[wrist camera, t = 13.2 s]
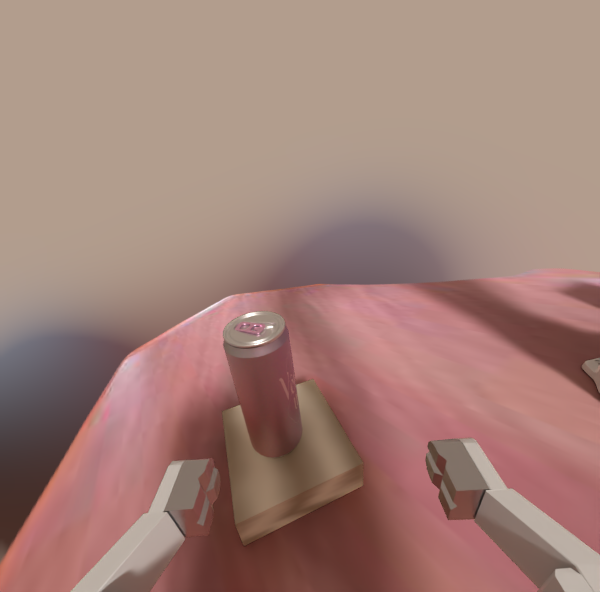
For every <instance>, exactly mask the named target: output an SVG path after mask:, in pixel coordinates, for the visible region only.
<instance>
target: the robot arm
mask: <svg viewBox="0 0 600 592" xmlns="http://www.w3.org/2000/svg"><path fill="white" fill-rule="evenodd" d="M582 369H583V370H584V371H585V372H586V373H587V374H588V375H589V376H590V377H591V378H592V379H593V380H594V381H595V383H596V386H597V389H598V391H599V393H600V358H596V359H591V360H587V361H585V362H584V364H583V365H582ZM428 449H429V451H430V452H428V453H427V454H426V466H427V470H428V473H429V476H430V479H431V481H432V483H433V484H434V485H435V486H436V487H437V488H438V489H440V491H439V496H438V498H439V500H440V502H441V505H442V507H443V509H444V512H445V514H446V516H447V519H448V520H466V519H475V520H474V521H475V522H476V523H477V524H478V525H479V526H480V527H481V529H482V530H483V531H484V532H485V533H486V534H487V535H488V536H489V537H490V538H491V539H492V540H493V541H494V542H495V543H496V544H497V545H498V546H499V547H500V548H501V549H502V551H503V552H504V553H505V554H506V555H507V556H508V557H509V558H510V559H511V560H512V561H513V562H514V563H515V564H516V565H517V566H518V567H519V568H520V569H521V570H522V571H523V572H524V574H525V575H526V576H527V577H528V578H529V579H530V580H531V581H532V582H533V583H534V584H535V585H536V586H537V587H538V588H539V590H538V591H537V592H600V555H599V554H598V553H596V552H595V551H594V550H592V549H591V548H590V547H588V546H587V545H586V544H584V543H583V542H582V541H581V540H579V539H578V538H577V537H575V536H574V535H573V534H571V533H570V532H569V531H567V530H566V529H565V528H563V527H562V526H561V525H560V524H558V523H557V522H556V521H554V520H553V519H552V518H550V517H549V516H548V515H546V514H545V513H544V512H542V511H541V510H540V509H539V508H537V507H536V506H535V505H533V504H532V503H531V502H529V501H528V500H527V499H525V498H524V497H523V496H521V495H520V494H519V493H518V492H516V491H515V490H514V489H512V488H509V489H507V487H506V485H505V484H504V482H503V481H502V479H501V478H500V476H499V475H498V473H497V472H496V470H495V469H494V467H493V466H492V464H491V463H490V461H489V459H488V458H487V456H486V455H485V453H484V452H483V450H482V449H481V447H480V446H479V444H478V443H477V441H476V440H475V439H473V438H459V439H446V440H436V441H430V442H428ZM214 465H215V462H214V460H213V458H207V459H194V460H179V461H172V462H171V464H170V465H169V466H168V468H167V470H166V473H165V475H164V477H163V479H162V482H161V484H160V486H159V489H158V491H157V493H156V496H155V498H154V500H153V502H152V505H151V507H150V509H149V512H148V513H144V514H143V515H142V516H141V517H140V518H139V519H138V520H137V521H136V522H135V523H134V524H133V525H132V527H131V528H130V529H129V530H128V531H127V532H126V533H125V534H124V535H123V536H122V537H121V538H120V539H119V540H118V541H117V543H116V544H115V545H114V546H113V547H112V548H111V549H110V550H109V551H108V552H107V553H106V554H105V555H104V556H103V557H102V558H101V560H100V561H99V562H98V563H97V564H96V565H95V566H94V567H93V568H92V569H91V570H90V571H89V572H88V573H87V574H86V576H85V577H84V578H83V579H82V580H81V581H80V582H79V583H78V584H77V585H76V586H75V587H74V588H73V589H72V590H71V591H70V592H150V591H151V589H152V588H153V586H154V585H155V583H156V582H157V580H158V579H159V577H160V576H161V574H162V573H163V571H164V570H165V569H166V567H167V566H168V564H169V563H170V561H171V560H172V558H173V557H174V555H175V554H176V552H177V551H178V549H179V548H180V546H181V545H182V543H183V542H184V541H185V537H194V536H204V535H209V532H210V528H211V524H212V520H213V516H214V510H213V507H212V505H213V503H214V502H215V501H216V500H217V498H218V495H219V490H220V481H221V479H220V473H219V471H218V470H217V469H216V468H214Z"/></svg>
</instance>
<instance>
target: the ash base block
mask: <svg viewBox="0 0 600 592" xmlns="http://www.w3.org/2000/svg"><path fill="white" fill-rule="evenodd" d="M296 387H297V394H298V401H299V408H300V415H301V422H302V436H301V439H300V441H299V443H298V444H297V446H296V447H295V448H294V449H293V450H292V451H291V452H289V453H288V454H286V455H284V456H282V457H278V458H269V457H265V456H263V455H261V454H259V453H258V452H256V451H255V449H254V448H253V446H252V444H251V441H250V437H249V434H248V430H247V427H246V423H245V420H244V416H243V413H242V409H241V406H240V405H238V406H235V407H232V408H230V409H227V410H224V411H222V417H223V425H224V434H225V443H226V451H227V460H228V469H229V477H230V486H231V495H232V503H233V512H234V521H235V526H236V528H237V531H238V533H239V536H240V538H241V540H242V543H243V545H244V546H245V545H247V544H249V543H251V542H253V541H255V540H257V539H259V538H261V537H263V536H265V535H267V534H269V533H271V532H273V531H275V530H277V529H279V528H281V527H283V526H285V525H287V524H289V523H290V522H292V521H294V520H296V519H298V518H300V517H302V516H304V515H306V514H308V513H310V512H312V511H314V510H316V509H318V508H320V507H322V506H324V505H326V504H328V503H330V502H332V501H334V500H336V499H338V498H340V497H342V496H344V495H346V494H348V493H349V492H351V491H353V490H355V489H357V488H359V487H361V486H363V461H362V460H361V458H360V456H359V455H358V453H357V451H356V450H355V448H354V446H353V445H352V443H351V441H350V440H349V438H348V436H347V435H346V433H345V431H344V430H343V428H342V426H341V425H340V423H339V421H338V420H337V418H336V416H335V415H334V413H333V411H332V410H331V408H330V406H329V405H328V403H327V401H326V400H325V398H324V396H323V395H322V393H321V391H320V390H319V388H318V386H317V384H316V383H315V381H314V379H311V380H308V381H306V382H303V383H300V384H297V385H296Z"/></svg>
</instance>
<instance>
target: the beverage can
mask: <svg viewBox="0 0 600 592" xmlns="http://www.w3.org/2000/svg"><path fill="white" fill-rule="evenodd" d="M223 338H224V344H223V345H224V350H225V353H226V357H227V360H228V364H229V367H230V371H231V374H232V378H233V381H234V385H235V388H236V392H237V395H238V399H239V402H240V406H241V409H242V413H243V416H244V420H245V423H246V427H247V430H248V434H249V437H250V441H251V444H252V446H253V448H254V449H255V451H256V452H258V453H259V454H261V455H263V456H265V457H269V458H278V457H282V456H284V455H286V454H288V453H289V452H291V451H292V450H293V449H294V448H295V447H296V446H297V444H298V443H299V441H300V439H301V436H302V422H301V415H300V408H299V401H298V394H297V387H296V380H295V374H294V367H293V360H292V353H291V346H290V339H289V332H288V329H287V327H286V325H285V321H284V319H283V317H282V316H280V315H279V314H277V313H274V312H269V311H257V312H251V313H247V314H244V315H241V316H239V317H237V318H235V319H234V320H232V321H231V322H230V323H228V324H227V326H226V327H225V328H224V331H223Z"/></svg>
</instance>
